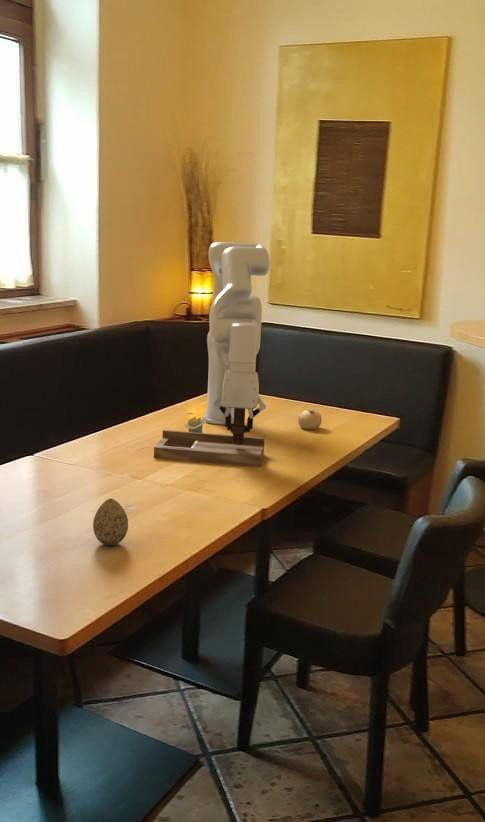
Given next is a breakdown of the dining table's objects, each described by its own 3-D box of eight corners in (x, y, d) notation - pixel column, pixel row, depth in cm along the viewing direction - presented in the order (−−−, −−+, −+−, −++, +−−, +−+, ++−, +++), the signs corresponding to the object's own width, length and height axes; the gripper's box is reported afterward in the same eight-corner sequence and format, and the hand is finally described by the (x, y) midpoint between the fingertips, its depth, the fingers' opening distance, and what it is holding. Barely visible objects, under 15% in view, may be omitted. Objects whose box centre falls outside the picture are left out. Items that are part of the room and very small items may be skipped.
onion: (292, 427, 270) (293, 406, 268) (308, 424, 275) (310, 403, 274) (309, 432, 264) (311, 411, 263) (326, 429, 270) (327, 408, 268)
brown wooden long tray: (162, 446, 240) (163, 429, 239) (263, 454, 237) (264, 438, 236) (153, 457, 229) (154, 440, 227) (259, 466, 226) (260, 449, 224)
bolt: (248, 442, 233) (251, 391, 230) (247, 447, 228) (250, 395, 225) (228, 440, 234) (231, 390, 230) (226, 445, 229) (229, 393, 225)
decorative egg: (85, 545, 167) (85, 499, 165) (108, 534, 173) (109, 490, 171) (112, 554, 163) (112, 507, 161) (134, 543, 169) (135, 498, 167)
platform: (164, 442, 245) (164, 421, 244) (188, 429, 262) (189, 409, 260) (200, 448, 241) (201, 427, 240) (222, 434, 258) (223, 414, 256)
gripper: (209, 367, 223) (207, 431, 227) (271, 371, 221) (267, 436, 226) (213, 362, 230) (211, 424, 235) (273, 367, 229) (269, 429, 233)
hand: (238, 429), depth 230 cm, fingers closed on bolt, 5 cm apart
